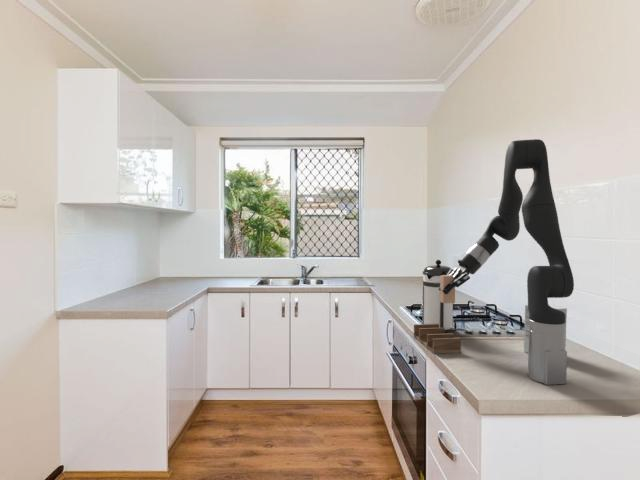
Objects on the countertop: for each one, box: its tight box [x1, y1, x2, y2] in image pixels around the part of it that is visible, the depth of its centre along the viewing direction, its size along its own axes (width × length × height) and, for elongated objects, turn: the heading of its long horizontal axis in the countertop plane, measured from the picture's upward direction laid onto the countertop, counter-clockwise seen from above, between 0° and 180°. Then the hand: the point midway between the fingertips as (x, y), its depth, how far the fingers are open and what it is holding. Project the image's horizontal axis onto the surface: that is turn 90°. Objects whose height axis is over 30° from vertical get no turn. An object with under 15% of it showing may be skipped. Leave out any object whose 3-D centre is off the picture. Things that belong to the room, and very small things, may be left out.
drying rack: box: [413, 323, 462, 354], centre depth 150 cm, size 20×10×5 cm, turn 6°
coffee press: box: [421, 259, 456, 331], centre depth 169 cm, size 17×16×30 cm
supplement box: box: [523, 303, 568, 354], centre depth 138 cm, size 10×9×17 cm
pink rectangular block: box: [440, 275, 456, 303], centre depth 149 cm, size 3×4×10 cm, turn 96°
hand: (442, 291), depth 149 cm, fingers closed on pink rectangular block, 3 cm apart
